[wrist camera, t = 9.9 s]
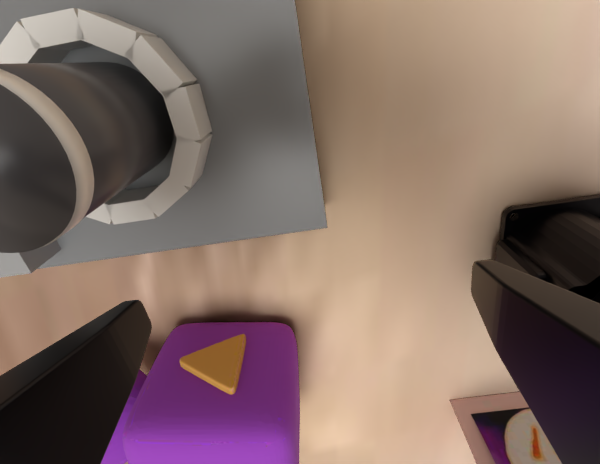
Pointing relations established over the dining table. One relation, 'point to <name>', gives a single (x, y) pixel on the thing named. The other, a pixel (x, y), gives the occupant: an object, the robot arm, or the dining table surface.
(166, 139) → the lens
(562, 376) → the robot arm
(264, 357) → the toy camera
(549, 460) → the purple printed box
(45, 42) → the mount
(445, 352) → the dining table surface
